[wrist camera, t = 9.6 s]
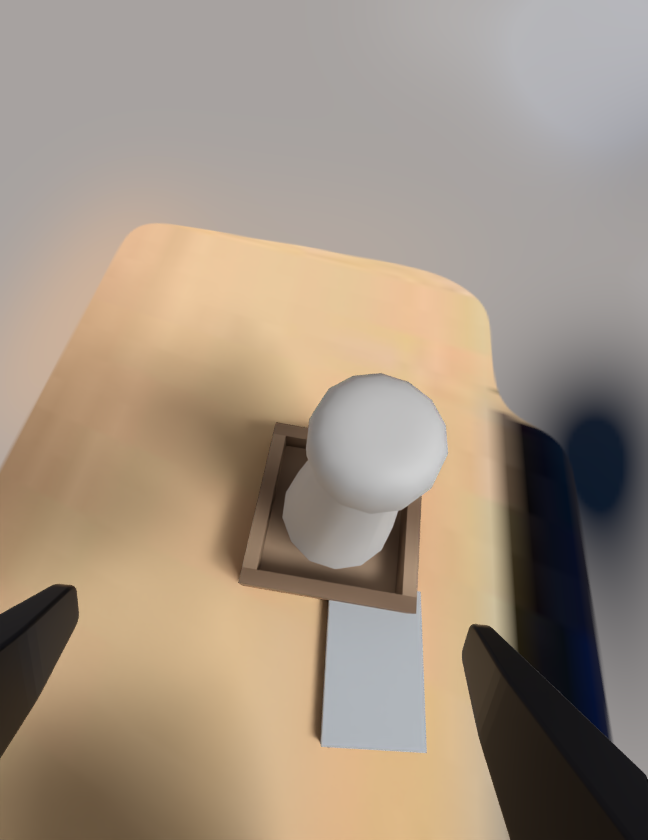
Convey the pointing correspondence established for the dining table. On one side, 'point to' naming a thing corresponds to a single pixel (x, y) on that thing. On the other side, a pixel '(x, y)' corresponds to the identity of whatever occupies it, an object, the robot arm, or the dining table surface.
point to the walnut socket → (293, 573)
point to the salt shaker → (362, 468)
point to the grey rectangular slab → (373, 679)
